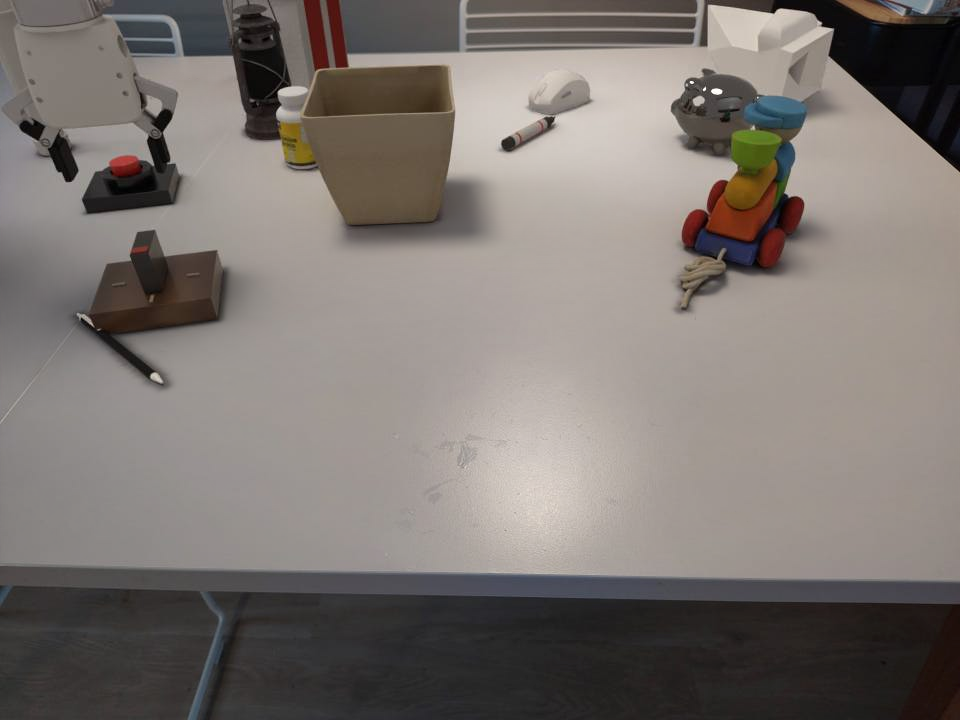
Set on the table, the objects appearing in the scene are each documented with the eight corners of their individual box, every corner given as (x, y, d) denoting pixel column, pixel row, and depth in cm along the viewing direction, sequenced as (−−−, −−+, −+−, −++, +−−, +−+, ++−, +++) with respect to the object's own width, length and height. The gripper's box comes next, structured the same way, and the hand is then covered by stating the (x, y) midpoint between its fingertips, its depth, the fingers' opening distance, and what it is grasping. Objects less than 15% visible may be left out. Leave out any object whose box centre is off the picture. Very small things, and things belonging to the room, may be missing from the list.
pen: (83, 315, 80) (79, 307, 80) (168, 384, 70) (164, 376, 70) (75, 319, 80) (72, 311, 79) (160, 388, 70) (156, 380, 69)
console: (98, 336, 77) (87, 313, 75) (115, 284, 85) (106, 262, 83) (217, 319, 79) (210, 296, 77) (223, 270, 87) (216, 248, 85)
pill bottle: (283, 158, 114) (268, 87, 107) (321, 152, 116) (309, 81, 109) (289, 173, 110) (274, 100, 102) (329, 166, 111) (317, 94, 104)
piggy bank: (680, 126, 123) (692, 59, 115) (764, 144, 116) (781, 73, 108) (653, 146, 116) (664, 76, 108) (741, 166, 109) (758, 93, 101)
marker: (510, 151, 115) (510, 140, 114) (500, 149, 116) (501, 137, 115) (559, 124, 124) (559, 113, 123) (550, 122, 125) (550, 111, 124)
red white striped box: (352, 78, 147) (333, -69, 129) (319, 106, 133) (293, -53, 116) (281, 74, 150) (254, -70, 132) (242, 101, 136) (206, -55, 119)
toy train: (638, 296, 81) (659, 162, 71) (715, 201, 100) (741, 84, 89) (741, 328, 76) (781, 188, 65) (802, 221, 95) (841, 99, 84)
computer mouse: (524, 108, 131) (525, 74, 127) (570, 92, 137) (572, 59, 133) (548, 117, 127) (550, 82, 123) (594, 100, 134) (597, 66, 130)
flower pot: (460, 233, 94) (455, 110, 83) (320, 240, 93) (298, 116, 82) (454, 174, 108) (450, 63, 98) (334, 180, 107) (316, 68, 97)
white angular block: (817, 19, 112) (855, 9, 122) (687, -1, 125) (732, -9, 135) (786, 124, 122) (823, 107, 132) (669, 95, 135) (712, 81, 145)
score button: (110, 178, 101) (106, 167, 100) (115, 167, 104) (111, 156, 103) (139, 175, 101) (135, 164, 100) (143, 164, 104) (139, 153, 103)
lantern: (273, 113, 131) (235, -70, 112) (319, 121, 127) (287, -67, 108) (229, 136, 122) (179, -58, 103) (276, 145, 119) (233, -54, 100)
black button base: (87, 213, 100) (76, 187, 98) (100, 184, 108) (90, 160, 105) (172, 203, 102) (164, 178, 99) (179, 176, 110) (172, 152, 107)
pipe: (33, 150, 119) (-55, -48, 100) (71, 140, 122) (-8, -54, 103) (43, 159, 116) (-46, -44, 96) (82, 149, 119) (2, -50, 100)
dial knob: (151, 268, 82) (136, 229, 79) (168, 266, 82) (154, 227, 79) (144, 293, 78) (128, 253, 74) (162, 291, 78) (147, 251, 75)
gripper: (156, -7, 71) (200, 153, 82) (-27, 3, 68) (45, 167, 79) (144, 10, 65) (194, 179, 76) (-56, 22, 62) (26, 195, 73)
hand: (118, 172), depth 77 cm, fingers open, 9 cm apart
